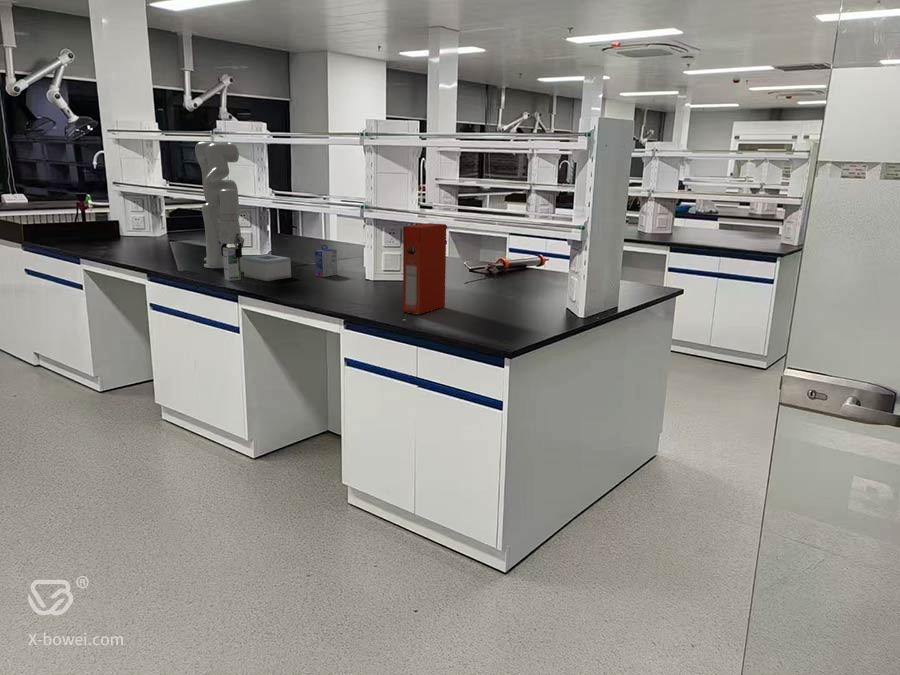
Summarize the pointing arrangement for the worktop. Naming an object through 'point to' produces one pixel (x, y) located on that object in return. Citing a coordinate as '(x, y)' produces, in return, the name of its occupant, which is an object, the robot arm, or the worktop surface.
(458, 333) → the worktop surface
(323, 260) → the ink cartridge box
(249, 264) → the drop box
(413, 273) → the file binder
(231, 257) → the syrup box
